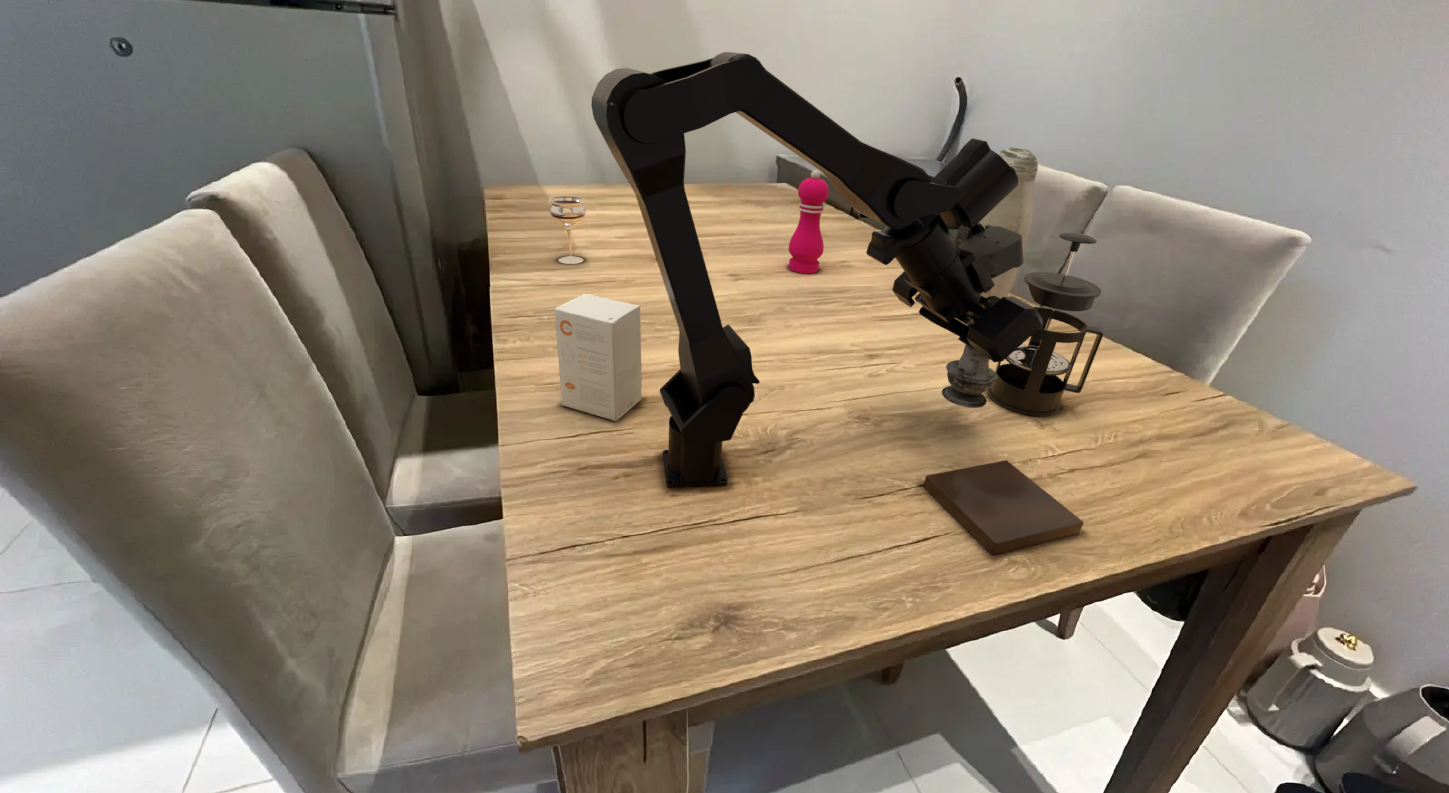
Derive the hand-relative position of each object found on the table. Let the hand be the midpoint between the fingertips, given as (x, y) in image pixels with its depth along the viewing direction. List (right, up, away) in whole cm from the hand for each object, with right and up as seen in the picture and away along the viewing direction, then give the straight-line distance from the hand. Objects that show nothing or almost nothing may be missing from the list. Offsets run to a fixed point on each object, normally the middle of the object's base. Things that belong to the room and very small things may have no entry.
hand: (987, 347), depth 74 cm
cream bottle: (+17, +12, +46) cm, 50 cm away
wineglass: (-62, +22, +54) cm, 85 cm away
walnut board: (-3, -18, -8) cm, 20 cm away
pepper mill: (-15, +21, +58) cm, 64 cm away
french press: (+11, -6, +13) cm, 18 cm away
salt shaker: (-2, -6, +3) cm, 7 cm away
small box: (-47, -7, +5) cm, 47 cm away
